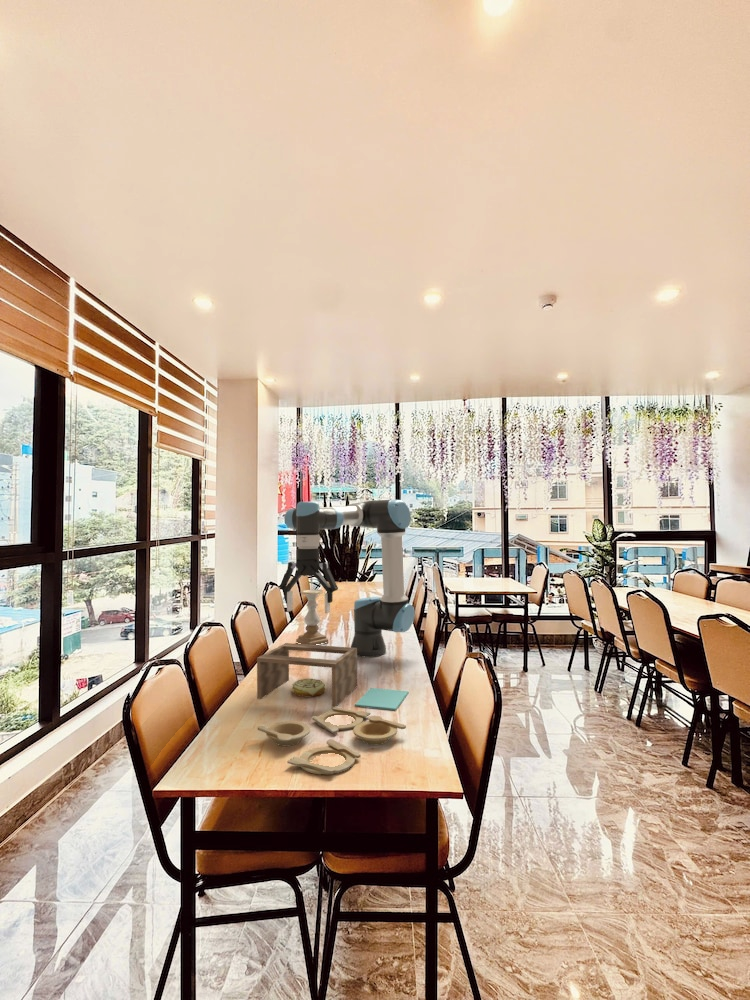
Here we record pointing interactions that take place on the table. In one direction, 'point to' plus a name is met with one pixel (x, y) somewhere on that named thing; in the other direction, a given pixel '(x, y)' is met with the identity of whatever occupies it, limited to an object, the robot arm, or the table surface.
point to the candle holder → (312, 621)
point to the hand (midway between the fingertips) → (308, 611)
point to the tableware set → (367, 731)
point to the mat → (382, 698)
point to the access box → (277, 665)
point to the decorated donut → (308, 687)
